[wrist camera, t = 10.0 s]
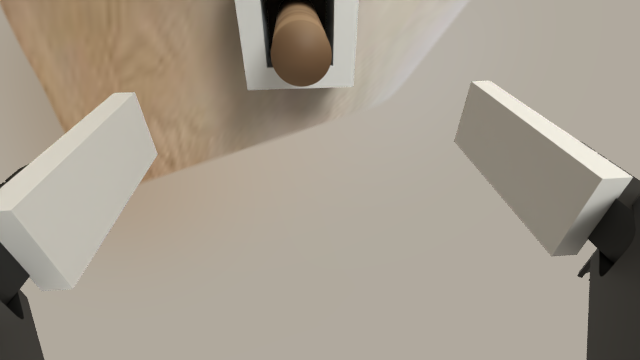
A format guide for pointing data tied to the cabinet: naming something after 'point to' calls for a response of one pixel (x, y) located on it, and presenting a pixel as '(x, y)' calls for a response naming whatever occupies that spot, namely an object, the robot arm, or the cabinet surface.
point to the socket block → (258, 48)
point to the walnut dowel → (300, 44)
